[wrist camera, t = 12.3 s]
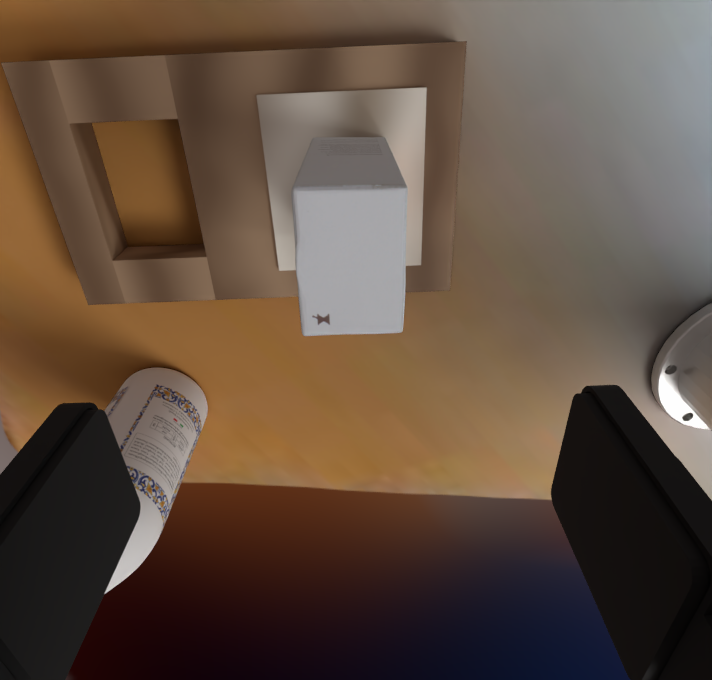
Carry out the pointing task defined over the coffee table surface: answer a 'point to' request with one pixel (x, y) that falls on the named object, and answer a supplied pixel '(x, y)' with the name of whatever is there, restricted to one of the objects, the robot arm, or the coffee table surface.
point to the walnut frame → (242, 157)
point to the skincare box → (350, 237)
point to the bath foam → (154, 449)
